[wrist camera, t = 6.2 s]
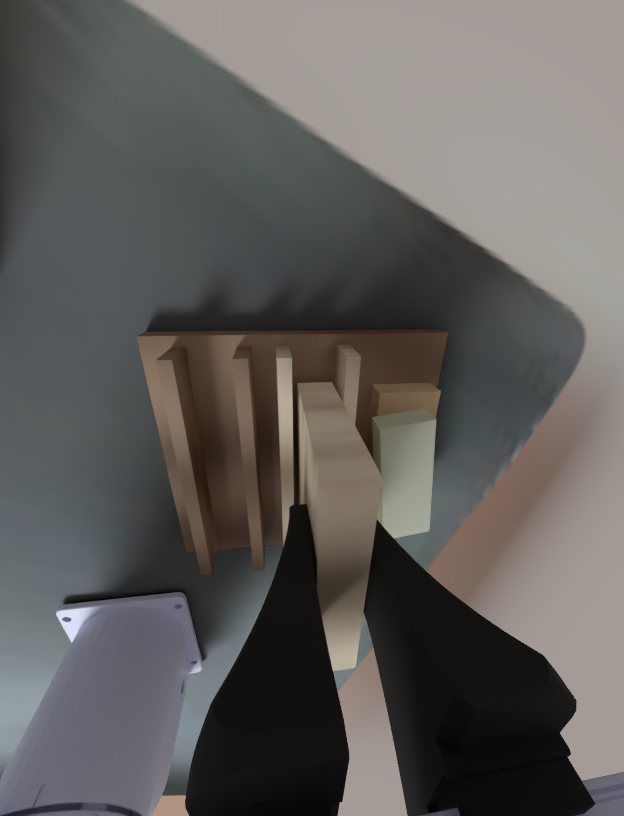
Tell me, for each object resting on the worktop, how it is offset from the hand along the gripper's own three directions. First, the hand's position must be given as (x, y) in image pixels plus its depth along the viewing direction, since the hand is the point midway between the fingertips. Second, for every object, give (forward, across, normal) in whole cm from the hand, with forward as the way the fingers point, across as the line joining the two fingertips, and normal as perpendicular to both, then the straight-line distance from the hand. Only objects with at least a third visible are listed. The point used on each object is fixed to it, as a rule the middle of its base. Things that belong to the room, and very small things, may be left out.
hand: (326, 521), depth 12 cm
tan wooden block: (+4, 0, 0) cm, 4 cm away
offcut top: (+3, -4, 0) cm, 6 cm away
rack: (+6, 0, 0) cm, 6 cm away
